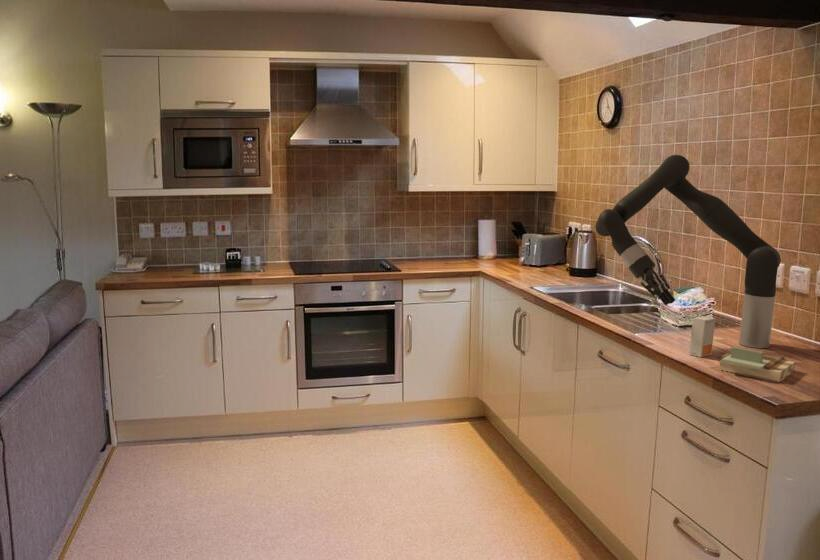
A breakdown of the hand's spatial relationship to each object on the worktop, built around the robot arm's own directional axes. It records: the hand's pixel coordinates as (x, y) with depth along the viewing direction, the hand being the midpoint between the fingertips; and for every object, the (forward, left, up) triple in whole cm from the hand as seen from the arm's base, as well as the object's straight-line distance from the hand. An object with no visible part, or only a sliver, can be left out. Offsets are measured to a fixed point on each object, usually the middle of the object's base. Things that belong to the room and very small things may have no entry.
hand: (670, 302), depth 223 cm
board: (+5, +29, -15) cm, 33 cm away
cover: (+11, +27, -12) cm, 32 cm away
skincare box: (0, +11, -15) cm, 19 cm away
